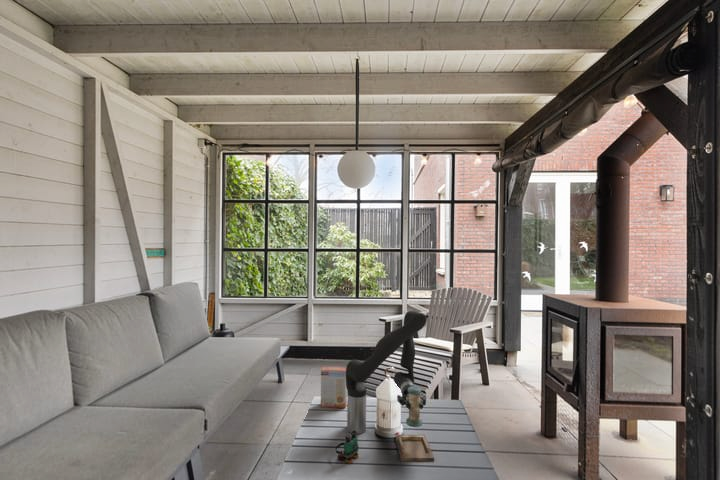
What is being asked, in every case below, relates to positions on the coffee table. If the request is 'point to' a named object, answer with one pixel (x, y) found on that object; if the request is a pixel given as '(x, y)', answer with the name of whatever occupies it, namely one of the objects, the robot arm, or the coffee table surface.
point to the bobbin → (414, 407)
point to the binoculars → (349, 448)
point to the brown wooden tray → (414, 448)
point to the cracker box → (333, 387)
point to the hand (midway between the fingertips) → (415, 406)
